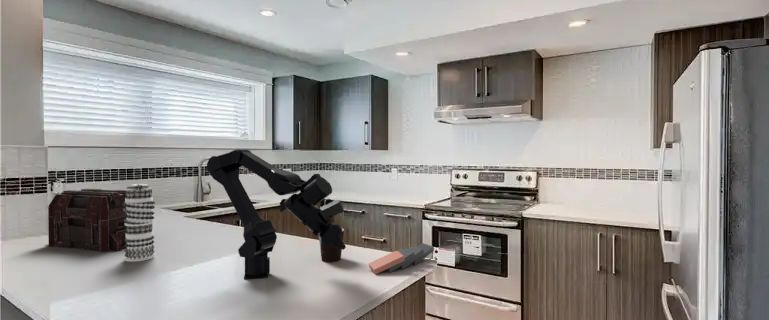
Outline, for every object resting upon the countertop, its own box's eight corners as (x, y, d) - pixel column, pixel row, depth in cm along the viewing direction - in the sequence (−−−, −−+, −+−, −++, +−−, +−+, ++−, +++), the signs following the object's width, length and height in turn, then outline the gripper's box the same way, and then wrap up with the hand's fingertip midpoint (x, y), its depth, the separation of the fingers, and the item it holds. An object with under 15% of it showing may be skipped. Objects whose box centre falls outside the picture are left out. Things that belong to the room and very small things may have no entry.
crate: (40, 246, 146) (39, 191, 146) (90, 235, 164) (89, 187, 164) (110, 253, 136) (109, 194, 136) (155, 241, 154) (155, 189, 154)
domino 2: (389, 267, 115) (413, 252, 120) (379, 263, 119) (404, 248, 124) (390, 272, 115) (415, 256, 121) (381, 268, 119) (405, 252, 125)
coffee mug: (339, 263, 124) (339, 233, 124) (314, 262, 126) (314, 231, 125) (349, 254, 135) (349, 226, 135) (326, 253, 137) (326, 225, 137)
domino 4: (414, 260, 123) (433, 246, 130) (403, 255, 126) (421, 242, 133) (415, 264, 123) (433, 251, 130) (403, 260, 127) (422, 246, 133)
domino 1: (374, 269, 113) (403, 255, 116) (368, 263, 118) (396, 250, 121) (375, 274, 114) (404, 260, 117) (369, 268, 118) (398, 254, 121)
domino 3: (401, 264, 118) (423, 249, 124) (390, 261, 122) (412, 246, 128) (402, 269, 118) (424, 253, 124) (392, 265, 122) (413, 250, 128)
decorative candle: (137, 263, 124) (136, 185, 124) (116, 260, 127) (115, 185, 127) (161, 255, 133) (161, 183, 132) (142, 253, 136) (141, 182, 135)
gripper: (334, 194, 100) (374, 233, 104) (319, 187, 117) (354, 221, 121) (303, 226, 97) (345, 265, 101) (293, 214, 115) (329, 248, 119)
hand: (344, 248), depth 111 cm, fingers closed
